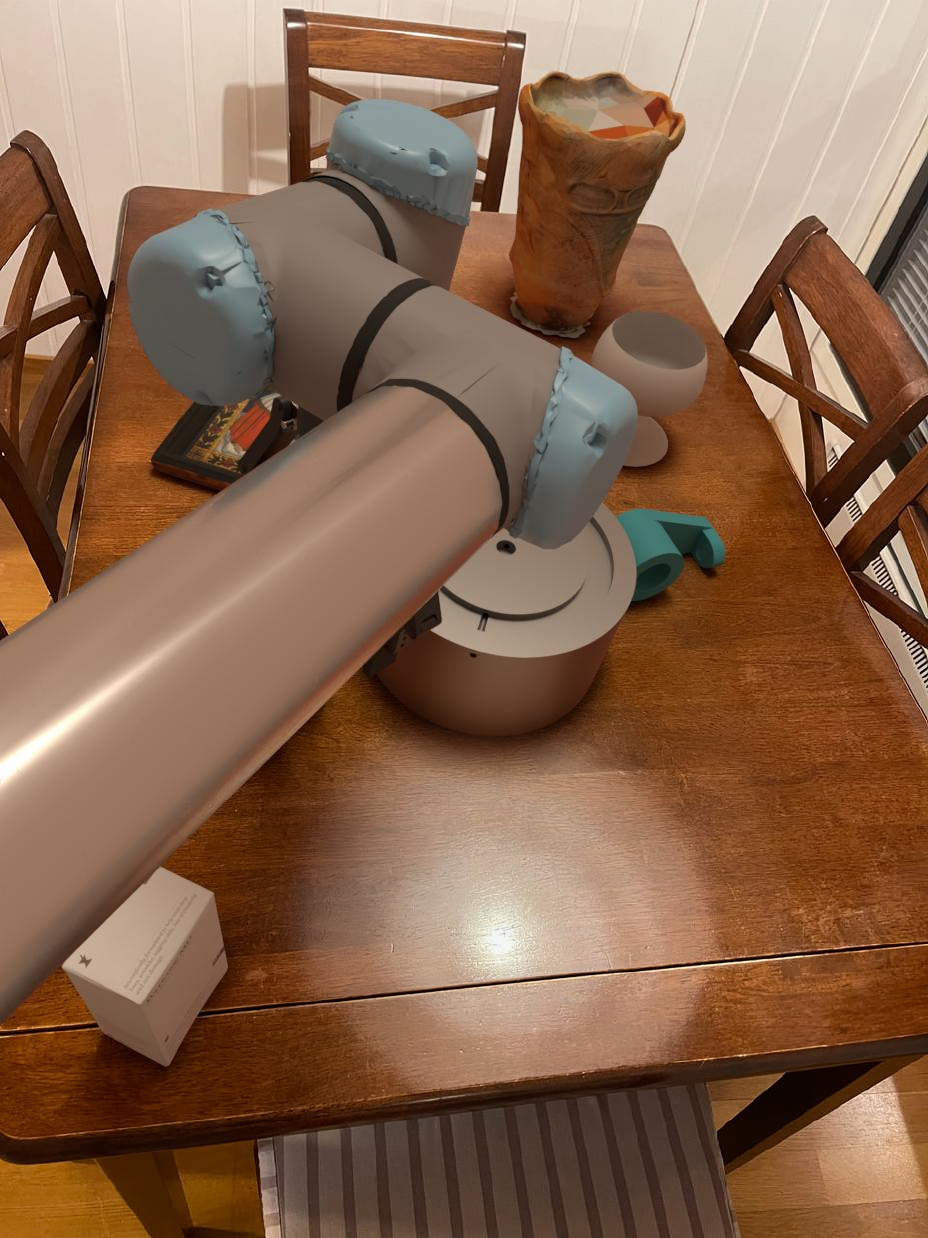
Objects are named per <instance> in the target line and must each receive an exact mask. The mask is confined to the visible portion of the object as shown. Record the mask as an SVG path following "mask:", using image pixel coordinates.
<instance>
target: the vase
mask: <svg viewBox="0 0 928 1238" xmlns="http://www.w3.org/2000/svg"><path fill="white" fill-rule="evenodd" d="M517 101H518V103H517V109H518V115H519V120H520V124H521V126H522V127H521V132H522V133H521V137H522V138H521V139H522V140H521V151H520V152H521V153H520V159H519V170H518V184H517V187H518V188H517V189H518V190H517V191H518V192H517V200H516V201H517V202H516V203H517V204H516V205H517V208H516V213H515V214H516V215H515V216H516V217H515V218H516V219H515V234H514V239H513V242H512V245H511V247H510V251H509V253H508V258H509V262H510V263H511V266H512V271H513V285H514V291H515V292H513V295H514V296H511V297H509V299H510V301H512V303H511V304H510V307H509V309H510V312H511V315H512V317H513V318H515V319H517V320H519V321H521V322H520V325H522V326H525V327H527V328H530V329H531V330H534V331H535V330H536V331H540V332H541V333H542V334H543V335H547V336H552V335H557V336H559V337H562V338H572V339H576V338H579V337H580V335H582V334H584V333H585V332H586V329H585V327H587V326H590V325H591V322H589V319H590V318H592V317H593V315H594V313H595V312H596V310H597V309H598V307H599V306H600V304H601V302H602V300H603V299H604V298H605V297H607V296H609V295H610V294H611V293H612V292H613V290H614V287H615V284H616V281H617V272H618V269H619V267H620V264H621V263H622V259H623V256H624V254H625V252H626V249H627V247H628V245H629V243H630V240H631V238H632V237H633V234H634V232H635V230H636V227H637V224H638V220H639V219H640V217H641V216H642V213H643V211H644V208H645V207H646V204H647V202H649V199H650V198H651V196H652V194H653V192H654V190H655V187H656V185H657V182H658V181H659V179H660V178H661V175H662V173H663V170H664V168H665V164H666V161H667V159H668V157H669V156H670V154H671V153H673V152H674V151H675V150H676V149H678V147H679V146H680V144H681V143H682V142H683V139H684V137H685V133H686V131H687V129H686V127H687V126H686V117H685V115H684V114H683V113H682V112H677V111H675V109H674V104H673V102H672V99H671V97H669V96H668V95H666V94H665V93H664V92H660V91H655V90H643V89H642V88H640V87H638V86H636V85H634V84H633V83H632V81H630V80H629V79H628V78H627V77H626V75H624V74H623V73H621V72H618V71H616V70H610V71H602V72H600V73H595V74H593V75H589V76H586V77H584V78H578V77H573V76H571V75H570V74H568V73H566V72H563V71H559V70H552V71H549V72H547V74H545V75H544V76H543V77H541V78H540V79H538V81H537V82H535V83H531V82H530V83H527V84H525V85H523V86H522V88H521V89H520V90H519V95H518V100H517Z"/></svg>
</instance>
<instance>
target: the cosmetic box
mask: <svg viewBox="0 0 928 1238" xmlns="http://www.w3.org/2000/svg"><path fill="white" fill-rule="evenodd" d="M228 968H229V965H228V960H227V954H226V949H225V945H224V939H223V934H222V929H221V924H220V919H219V914H218V909H217V903H216V899H215V892H214V891H211V890H209V889H207V888H205V887H203V886H201V885H199V884H198V883H195V882H193V881H191V880H188V879H186V878H185V877H182V876H180V875H178V874H176V873H174V872H172V871H171V870H168V869H167V868H164V867H162V865H161V866H160V867H159V868H158V869H157V870H156V871H155V872H154V873H153V874H152V875H151V876H150V877H149V878H148V879H147V880H146V881H145V882H144V883H143V884H142V885H141V886H140V887H139V888H138V889H137V890H136V891H135V892H134V893H133V894H132V895H131V896H130V897H129V898H128V899H127V900H126V901H125V902H124V903H123V904H122V905H121V906H120V907H119V908H118V909H117V910H116V911H115V912H114V913H113V914H112V915H111V916H110V917H109V918H108V919H107V920H106V921H105V922H104V923H103V924H102V925H101V926H100V927H99V928H98V929H97V930H96V931H95V932H94V933H93V934H92V935H91V936H90V937H89V938H88V939H87V940H86V941H85V942H84V943H83V944H82V945H81V946H80V947H79V948H78V949H77V950H76V951H75V952H74V953H73V954H72V955H71V956H70V957H69V958H68V959H67V960H66V961H65V962H64V963H63V964H62V965H61V969H62V970H63V971H64V972H65V974H66V975H67V977H68V978H69V981H71V984H72V985H73V986H74V988H75V989H76V992H77V993H78V995H79V996H80V998H81V999H82V1001H83V1002H84V1004H85V1006H86V1007H87V1009H88V1010H89V1012H90V1014H91V1016H92V1017H93V1019H94V1021H95V1022H96V1024H97V1027H99V1029H100V1031H101V1032H102V1033H103V1034H104V1035H105V1036H108V1037H109V1038H112V1039H113V1040H115V1041H116V1042H118V1043H120V1044H122V1045H124V1046H125V1047H128V1048H130V1049H131V1050H134V1051H135V1052H137V1053H139V1054H141V1055H142V1056H145V1057H146V1058H149V1059H150V1060H152V1061H154V1062H155V1063H157V1064H159V1065H161V1066H163V1067H169V1066H171V1062H172V1061H173V1059H174V1058H175V1056H176V1054H177V1052H178V1049H179V1047H180V1046H181V1044H182V1042H183V1041H184V1038H185V1037H186V1035H187V1034H188V1032H189V1030H190V1028H191V1027H192V1025H193V1023H194V1022H195V1020H196V1019H197V1017H198V1016H199V1013H200V1012H201V1010H202V1009H203V1007H204V1006H205V1004H206V1003H207V1002H208V1000H209V998H210V996H211V995H212V993H213V992H214V990H215V989H216V987H217V986H218V984H219V983H220V981H221V980H222V979H223V978H224V976H225V975H226V973H227V971H228Z"/></svg>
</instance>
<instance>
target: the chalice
mask: <svg viewBox="0 0 928 1238" xmlns="http://www.w3.org/2000/svg"><path fill="white" fill-rule="evenodd" d="M708 362H709V361H708V353H707V347H706V343H705V342H704V340H703V338H702V337H701V336H700V334H699V333H698V332H697V331H696V330H695V329H694V328H692V327H691V325H689V324H687V323H685V322H684V321H682V320H680V319H678V318H676V317H673V316H671V315H668V314H665V313H661V312H656V311H652V310H651V311H650V310H637V311H630V312H627V313H624V314H622V315H620V316H619V317H617V318H616V319H614V320H613V321H612V322H611V323H610V324H609V325H608V326H607V327H606V328H605V330H604V332H603V333H602V334H601V336H600V337H599V339H598V340H597V343H596V344H595V346H594V349H593V352H592V355H591V359H590V366H592V367H593V368H595V369H596V370H598V371H600V372H601V373H603V374H604V375H606V376H608V377H609V378H611V379H613V380H614V381H616V382H617V383H619V384H621V385H622V386H624V387H625V388H626V389H627V390H628V391H629V392H630V393H631V395H632V396H633V398H634V400H635V402H636V405H637V411H638V422H637V428H636V432H635V436H634V439H633V442H632V445H631V447H630V450H629V452H628V455H627V457H626V459H625V462H624V464H623V466H625V467H634V468H638V467H646V466H650V465H653V464H655V463H657V462H659V461H661V460H662V459H663V458H664V457H665V455H666V454H667V452H668V449H669V439H668V436H667V434H666V432H665V431H664V428H662V426H661V425H660V424H659V422H657V421H656V419H654V418H664V417H666V418H667V417H669V416H675V415H677V414H680V413H681V412H683V411H685V410H686V409H688V408H690V407H691V406H692V405H693V404H694V403H695V402H696V401H697V400H698V398H699V397H700V395H701V393H702V392H703V389H704V386H705V385H704V384H705V381H706V377H707V374H708V373H707V372H708Z"/></svg>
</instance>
